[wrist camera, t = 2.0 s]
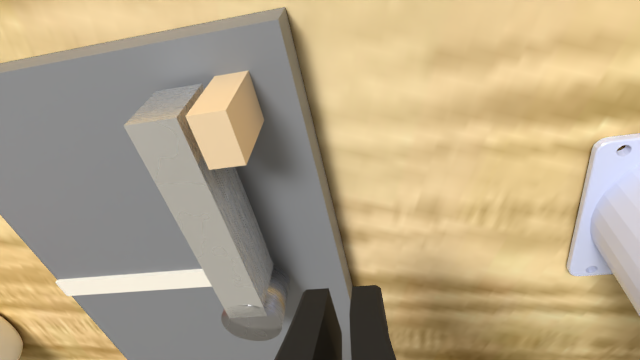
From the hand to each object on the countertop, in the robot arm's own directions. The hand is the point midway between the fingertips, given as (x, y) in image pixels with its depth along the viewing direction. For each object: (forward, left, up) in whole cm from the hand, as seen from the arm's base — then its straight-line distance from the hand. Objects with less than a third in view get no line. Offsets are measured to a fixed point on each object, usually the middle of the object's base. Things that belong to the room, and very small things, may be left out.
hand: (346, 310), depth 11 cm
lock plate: (+9, +6, -8) cm, 14 cm away
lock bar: (+5, +1, -6) cm, 9 cm away
